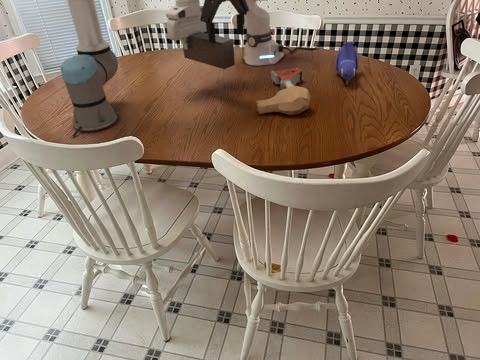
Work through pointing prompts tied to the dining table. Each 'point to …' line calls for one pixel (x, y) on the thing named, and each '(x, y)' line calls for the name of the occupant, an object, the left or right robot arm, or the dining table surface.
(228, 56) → the bar
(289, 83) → the tape dispenser
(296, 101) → the squash
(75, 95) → the left robot arm
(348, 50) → the toy
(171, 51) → the dining table surface
